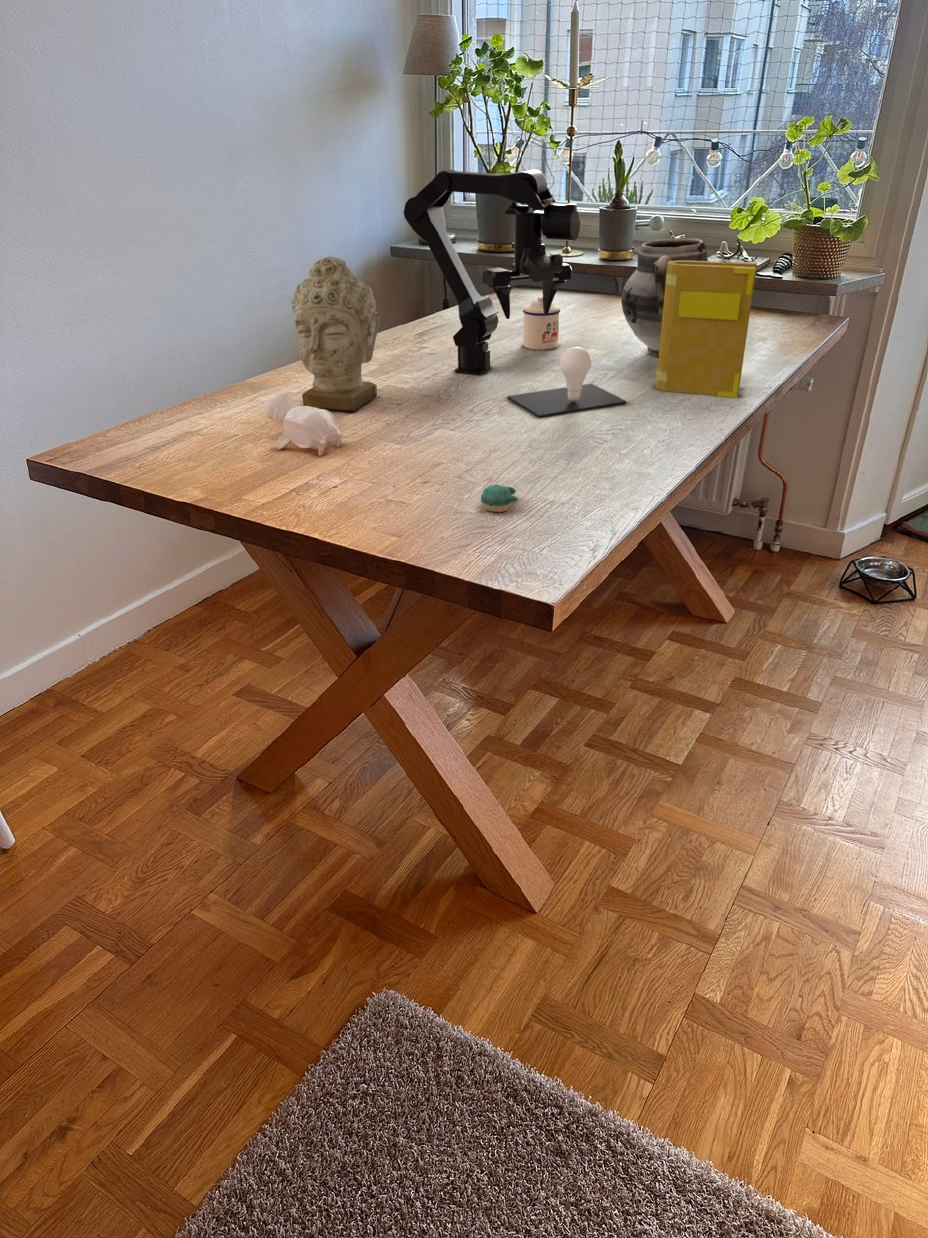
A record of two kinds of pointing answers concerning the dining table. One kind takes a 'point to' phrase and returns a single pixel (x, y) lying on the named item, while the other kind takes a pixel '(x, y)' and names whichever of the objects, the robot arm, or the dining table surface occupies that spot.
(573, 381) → the lightbulb
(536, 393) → the mat
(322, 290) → the buddha head
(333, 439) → the white turtle figurine
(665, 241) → the ceramic pot
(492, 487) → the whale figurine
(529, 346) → the teacup with lid
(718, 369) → the book
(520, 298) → the dining table surface
